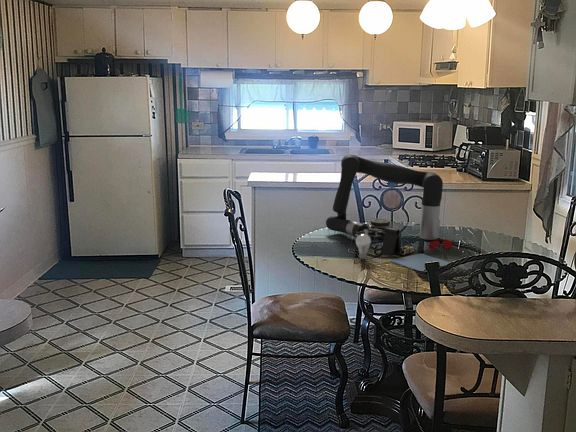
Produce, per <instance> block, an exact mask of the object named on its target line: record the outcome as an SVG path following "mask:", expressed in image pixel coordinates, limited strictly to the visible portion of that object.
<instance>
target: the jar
mask: <svg viewBox="0 0 576 432" xmlns="http://www.w3.org/2000/svg"><path fill="white" fill-rule="evenodd" d="M390 226H391V221H390V219H385V218H372V219H370V227H369V229H374V228H377V229H380V230H384V233H385V229H386V228H388V227H390ZM390 228H391V227H390ZM374 235H376V234H375V233H374ZM376 238H381V237H380V236H377V237H376Z"/></svg>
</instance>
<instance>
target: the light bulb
mask: <svg viewBox="0 0 576 432" xmlns="http://www.w3.org/2000/svg"><path fill="white" fill-rule="evenodd" d="M355 238H356V237H355ZM355 244H356V247H357V249H358V253H359V254H358V256H359V258H360V260H362V261H364V260H366V259H367V255H368V252H369V248H370V247H371V245H372V240H371V238H370V237H369V236H368V235H367V234H360V235H359V236H358V237H357V238H356V239H355Z"/></svg>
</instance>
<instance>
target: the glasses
mask: <svg viewBox="0 0 576 432" xmlns="http://www.w3.org/2000/svg"><path fill="white" fill-rule="evenodd" d="M441 241H442V242H441ZM440 242H441V244H442V246H443V248H444V247H445V248H446V249H450V248H452V247H453V246H456V247H458V248H460V249H462V250H464V251H466V252H468V254H469V256H470V255H471V256H472V257H473V255H472V253H471V252H470V251H469V250H468V249H466V248H464V247H462V246H460V245H457V244H455V243H454V241H453V240H450V239H441V240H440V239H436V240H429V244H427V247H428V249H429V250H430V251H431V250H436V251H438V252H440V253H442V254H443V255H444V257H445V260H446V261H447V260H448V257H447V256H446V253H444V252H443V251H442V250H440V249H438V248H440V247H441V245H440ZM437 247H438V248H437ZM471 256H470V257H471Z"/></svg>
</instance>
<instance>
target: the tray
mask: <svg viewBox="0 0 576 432" xmlns="http://www.w3.org/2000/svg"><path fill="white" fill-rule="evenodd" d="M433 261H438V262H439V263H440V266H444V265H447V264H448V263H450V262H449V261H447V260H446V261H445V260H442V259H439V258H436V257H433V256H431V255H426V254H424V253H420V252H419V253H416V254H411V255H407V256H403V257H399V258H396V259H391V260H389V262H390V263H393V264H395V265H397V264H398V266H400V265H402V266H401V267H403V266H405V267H404V268H406V267H409V268H412V269H415V270H418V271H424V270H425V267H424V266H425V265H424V264H425V263H426V262H433ZM409 268H408V269H409ZM412 269H411V270H412Z"/></svg>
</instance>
